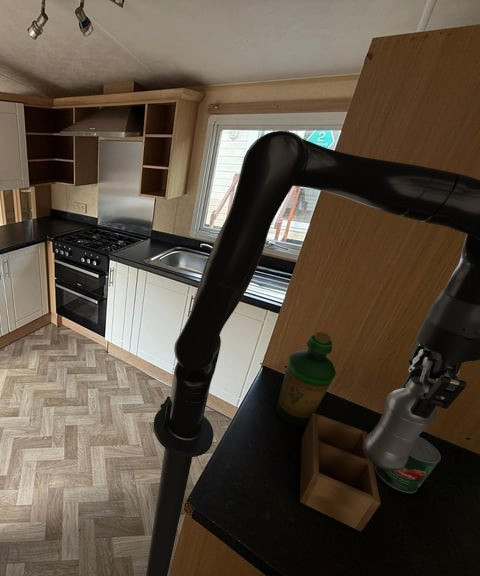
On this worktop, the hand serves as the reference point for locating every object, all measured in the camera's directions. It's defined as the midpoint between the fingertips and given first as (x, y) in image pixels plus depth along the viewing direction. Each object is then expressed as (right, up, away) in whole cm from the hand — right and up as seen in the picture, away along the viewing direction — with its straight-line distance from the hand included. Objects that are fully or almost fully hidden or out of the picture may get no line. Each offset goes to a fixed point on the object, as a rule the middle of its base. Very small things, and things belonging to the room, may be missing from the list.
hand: (413, 402), depth 56 cm
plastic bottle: (0, -14, +7) cm, 16 cm away
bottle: (+1, -17, +36) cm, 40 cm away
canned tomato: (+15, -25, +19) cm, 35 cm away
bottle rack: (-2, -25, +18) cm, 31 cm away
